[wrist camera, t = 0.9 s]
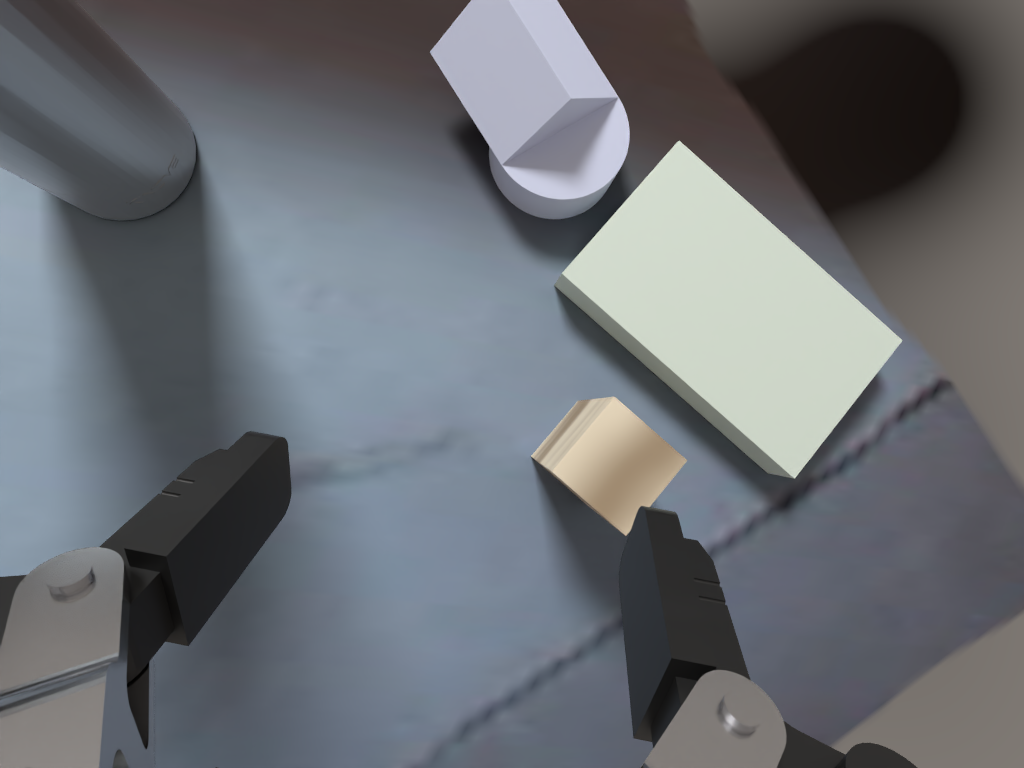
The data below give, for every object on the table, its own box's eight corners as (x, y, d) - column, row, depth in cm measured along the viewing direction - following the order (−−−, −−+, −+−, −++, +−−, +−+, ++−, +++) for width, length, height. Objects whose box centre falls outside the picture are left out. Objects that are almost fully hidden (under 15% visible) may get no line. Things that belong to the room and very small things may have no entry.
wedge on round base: (433, 85, 36) (533, 242, 35) (425, 10, 29) (547, 203, 29) (541, 26, 36) (638, 179, 36) (557, -61, 30) (676, 126, 30)
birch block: (531, 456, 35) (551, 471, 26) (578, 400, 35) (614, 396, 26) (585, 504, 35) (625, 536, 26) (632, 448, 35) (687, 460, 26)
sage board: (554, 285, 35) (561, 273, 32) (662, 162, 36) (679, 140, 33) (767, 473, 36) (794, 478, 33) (867, 346, 37) (902, 340, 34)
